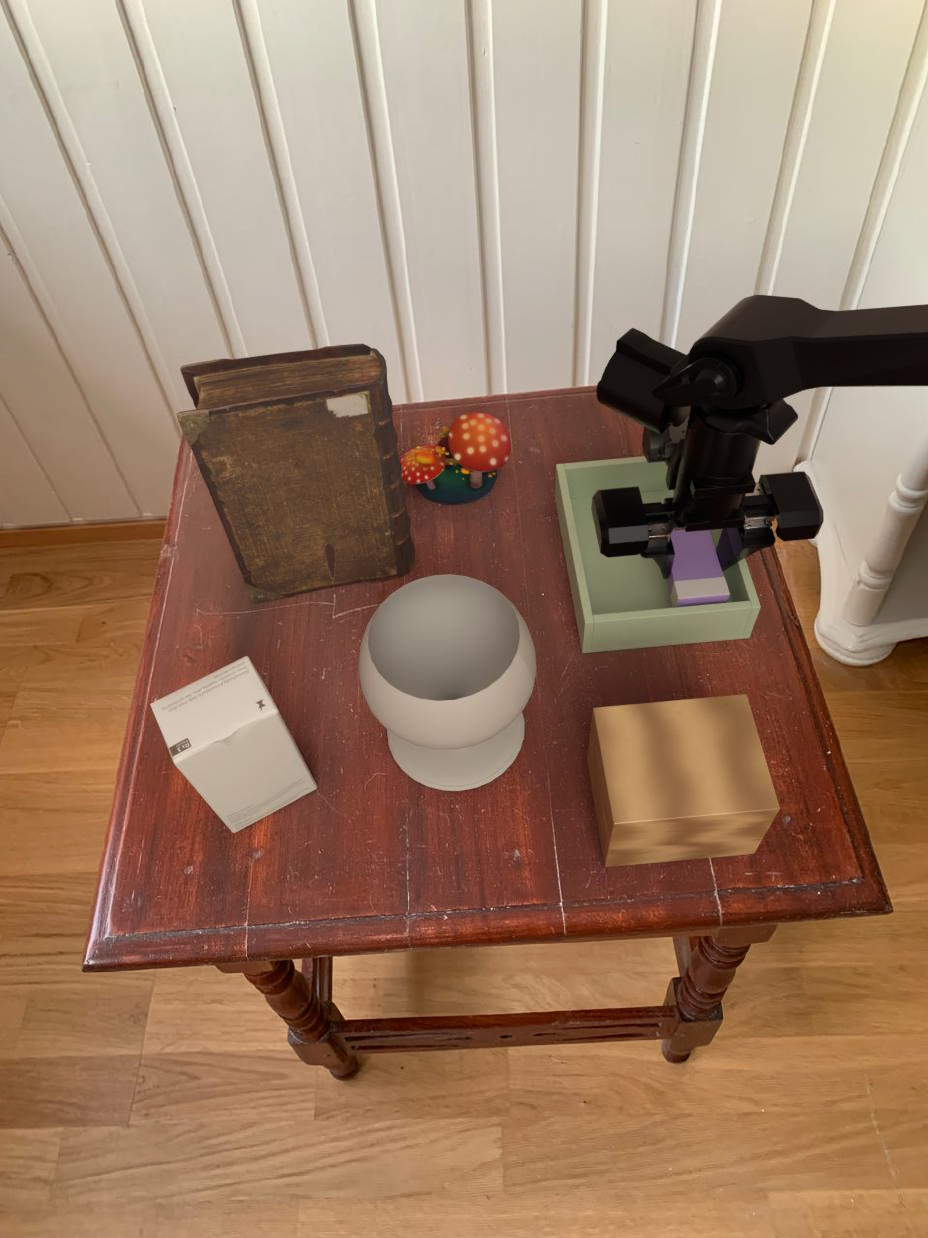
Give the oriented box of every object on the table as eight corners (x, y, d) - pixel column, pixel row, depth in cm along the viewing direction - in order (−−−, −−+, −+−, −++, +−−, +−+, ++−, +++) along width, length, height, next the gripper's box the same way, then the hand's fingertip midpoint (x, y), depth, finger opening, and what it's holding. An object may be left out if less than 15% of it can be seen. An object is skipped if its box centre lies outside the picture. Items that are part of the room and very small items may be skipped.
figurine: (506, 439, 100) (505, 379, 93) (514, 501, 95) (513, 442, 88) (399, 448, 100) (389, 388, 93) (400, 511, 95) (391, 452, 88)
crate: (725, 746, 77) (746, 693, 70) (754, 854, 72) (780, 809, 65) (586, 759, 77) (592, 707, 70) (604, 867, 72) (613, 824, 65)
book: (416, 538, 93) (385, 337, 72) (418, 593, 89) (385, 396, 68) (254, 551, 93) (178, 354, 73) (249, 607, 89) (166, 415, 68)
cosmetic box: (293, 739, 80) (251, 647, 68) (320, 793, 77) (282, 707, 65) (204, 783, 78) (145, 698, 66) (229, 841, 75) (172, 762, 63)
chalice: (556, 688, 82) (562, 589, 69) (502, 826, 74) (497, 742, 62) (415, 644, 85) (397, 542, 73) (350, 771, 78) (318, 682, 66)
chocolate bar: (702, 536, 87) (707, 519, 85) (725, 611, 82) (730, 594, 80) (655, 540, 87) (658, 523, 85) (674, 616, 82) (678, 599, 80)
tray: (702, 484, 95) (710, 449, 91) (749, 638, 84) (761, 606, 79) (554, 497, 95) (555, 463, 91) (582, 653, 84) (585, 622, 80)
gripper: (807, 374, 76) (766, 500, 89) (586, 394, 76) (578, 517, 89) (848, 469, 70) (799, 590, 82) (608, 491, 70) (595, 608, 83)
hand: (690, 573), depth 84 cm, fingers closed on chocolate bar, 4 cm apart
